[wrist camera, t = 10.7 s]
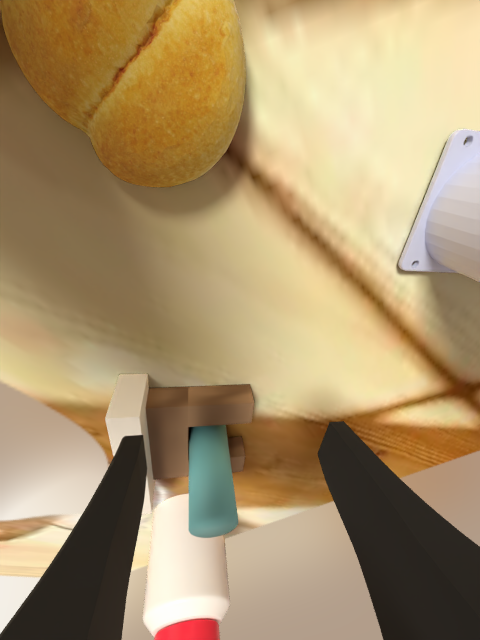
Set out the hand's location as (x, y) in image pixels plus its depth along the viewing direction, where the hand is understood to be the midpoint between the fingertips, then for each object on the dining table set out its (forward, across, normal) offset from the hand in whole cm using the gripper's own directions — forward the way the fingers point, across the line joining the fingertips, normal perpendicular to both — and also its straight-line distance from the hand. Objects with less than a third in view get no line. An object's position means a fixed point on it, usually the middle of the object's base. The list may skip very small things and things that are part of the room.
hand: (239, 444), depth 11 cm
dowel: (+10, 0, +11) cm, 15 cm away
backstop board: (+10, +6, +11) cm, 16 cm away
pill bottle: (+10, +2, +26) cm, 28 cm away
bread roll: (+10, +4, -12) cm, 17 cm away
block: (+10, +1, +11) cm, 15 cm away
